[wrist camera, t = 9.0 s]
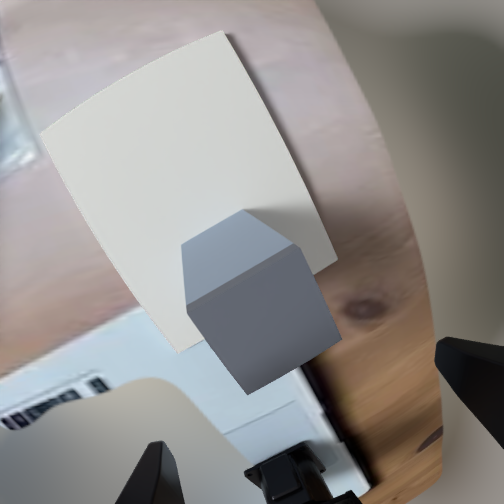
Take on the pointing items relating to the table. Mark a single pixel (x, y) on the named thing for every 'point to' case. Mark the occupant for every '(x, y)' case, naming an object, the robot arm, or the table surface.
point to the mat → (180, 172)
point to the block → (255, 300)
